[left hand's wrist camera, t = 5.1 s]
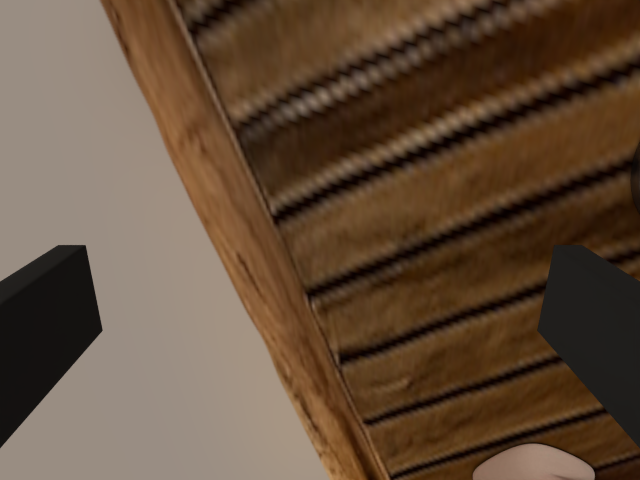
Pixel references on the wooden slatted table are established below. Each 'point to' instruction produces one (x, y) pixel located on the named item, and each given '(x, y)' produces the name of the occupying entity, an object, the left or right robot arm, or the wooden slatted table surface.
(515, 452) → the anatomical model
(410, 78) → the wooden slatted table surface
